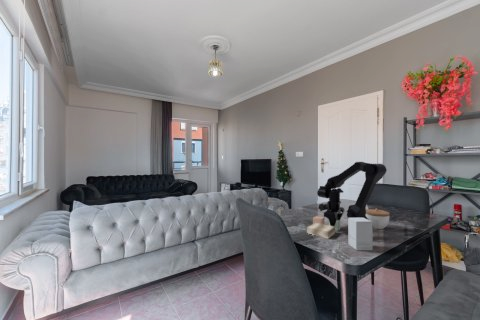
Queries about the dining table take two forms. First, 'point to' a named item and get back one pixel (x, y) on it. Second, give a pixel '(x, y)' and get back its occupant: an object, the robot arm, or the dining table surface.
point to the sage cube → (336, 225)
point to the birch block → (321, 230)
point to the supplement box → (360, 233)
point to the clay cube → (318, 220)
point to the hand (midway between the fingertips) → (334, 227)
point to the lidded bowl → (378, 218)
